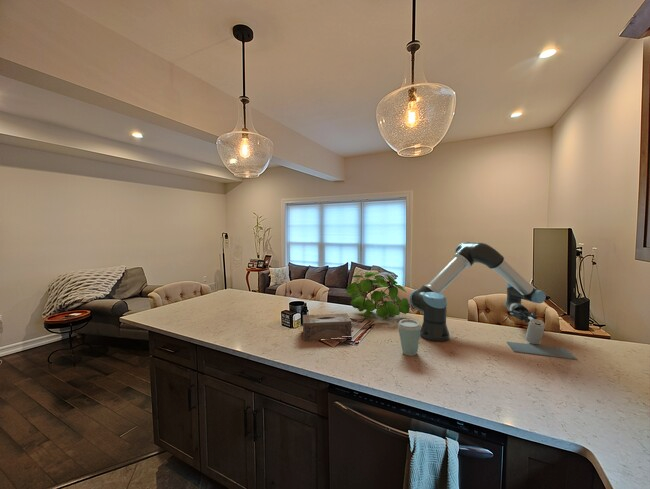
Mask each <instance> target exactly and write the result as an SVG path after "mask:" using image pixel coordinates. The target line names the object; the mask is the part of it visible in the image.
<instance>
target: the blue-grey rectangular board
mask: <svg viewBox="0 0 650 489" xmlns="http://www.w3.org/2000/svg"><path fill="white" fill-rule="evenodd" d="M506 344H508V346H509V347H510V349H511V351H513V352H514V353H519V354H526V355H527V354H528V355H533V356H534V355H535V356H542V357H543V356H545V357H551V358H559V359H566V358H568V359H567V360H574V359H578V358H577V357H576V356H575V355H573V354H572V353H571V352H570V351H569V350H567V349H566V348H565V347H559V346H558V347H557V346H548V345H541V344H536V345H534V344H531V343H524V342H513V341H506Z"/></svg>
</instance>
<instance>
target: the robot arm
mask: <svg viewBox="0 0 650 489" xmlns="http://www.w3.org/2000/svg"><path fill="white" fill-rule="evenodd" d="M475 263H477V264H478V263H479V264H482V265H484V266H486V267H487V268H488V269H490V270H491V269H492V270H493V271H494V272H495V273H496V274H498V275H499V276H500V277H502V278H503V280H504V281H506V282H507V284H506V285H507V286H506V301H505V303H504V306H505V308H506V309H507V310H508V312H510V313H509V315H510V316H512V317H514V318H516V319H518V320H519V321H524V323H526V324H527V323H529V322H530V321H531V319H538V317H537V316H538V314H537V312H530V311H529V310H528V308H527V307H526V306H524V305H523V304H522V300H524V301H528V302H531V303H535V304H543V303H544V302H545V300H546V298H547V296H546V293H545V292H544V291H542V290H540V289H537V288H535V287H534V286H533V285H532V284H531V283H530V282H529V281H528V280H526V279H525V278H524V277H523V276H522V275H521V274H520V273H519V272H518V271H517V270H516V269H514V268H513V267H512V266H511V264H509V263H508V262H507V261H506V260H505V257H504V256H503V255H502V254H501V253H500V252H499V251H497V249H496V248H494V247H492V246H491V245H489V244H487V243H483V242H471V241H466V242H462V243H460V244H458V245H457V246H456V247H455V251H454V254H453V259H451V260H450V262H448V264H446V265H445V267H443V269H442V270H440V272H438V274H437V275H436V276H434V278H432V279H431V281H430V282H429V283H427V284H422V286H421V287H419V288H418V289H414V290H413V291H411V293H410V294H409V302H410V303H409V304H410V305H411V306H412V307H413V308H414V309H416V310H417V311H419V312H421V313H423V320H422V324H421V329H420V335H419V337H421V338H422V339H424V340H427V341H430V342H437V343H439V342H447V341H450V339H451V338H450V332H449V328H448V326H447V305H448V303H447V297H446V296H445V295H444V294H442V293H443V291H444V290H446V289H447V287H449V286H450V285H451V283H452V282H453V281H455V279H457V277H458V276H459V275H460V274H461V273H462V272H463V271H464V270H465V269H466V268H471V267H472V266H473V265H474V264H475Z"/></svg>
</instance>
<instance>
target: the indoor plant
mask: <svg viewBox="0 0 650 489" xmlns="http://www.w3.org/2000/svg"><path fill="white" fill-rule="evenodd" d="M364 275H365V276H362V275H359V274H355V275H353V276H352V278H361V280H359V281H360V282H359V283H357V282H356V281H355V282H352V283H349V284H348V285H347V286H346V288H345V291H346V295H350V299H351V301H350V305H351V306H352V308H354V309H357V310H358V311H359V312H363V317H364V318H366V317H369V318H368V319H370V318H371V315H372V312H373V311H375V313H376V315H377V316H378V317H382V318H384V317H385V318H387V317H392V316H393V317H395V316H400V314H401V313H402V314H404V315H406V314H408V313H409V311H410V305H411V304H410V303H409V300H408V298H406V297H404V298H402V299H401V298H400V297H399V296H398V294H399V289H400V290H401V291H403V292H405V293H407V291H406V290H405V289H404V287H403V286H402V285H399V283H398V282H397V281H396V280H395V279H394V278H393V277H392V276H390V275H389V274H388V273H386V277H387V279H388V281H389V282H390V285H389V284H388V282H387V281H386V280H385V278H383V277H382V276H379V272H378V271H376V272H365V273H364ZM370 277H374V279H370ZM377 285H378V287H381V288H386V289H384V291H383V290H380V291H379V290H374V287H375V286H377ZM371 289H372V290H373V291H371ZM387 290H388V295H387V293H385V292H386V291H387ZM368 292H369V293H370V299H369V297H368V296H367V295H366V293H368ZM365 298H366V299H365ZM384 299H388V300H390V301H387V300H384ZM383 300H384V301H383ZM381 301H383V302H381ZM373 302H374V303H373ZM371 311H372V312H371ZM390 315H392V316H390Z"/></svg>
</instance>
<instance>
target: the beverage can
mask: <svg viewBox="0 0 650 489" xmlns="http://www.w3.org/2000/svg"><path fill="white" fill-rule="evenodd" d="M545 329H546V324H545V322H544V321H542V320H541V319H538V318H537V319H531V321H530V322H528V325H527V329H526V334H525V337H524V338H525V340H526V341H527V342H528V344H533V345H534V344H535V345H541V343H542V339H543V335H544V333H545Z"/></svg>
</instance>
